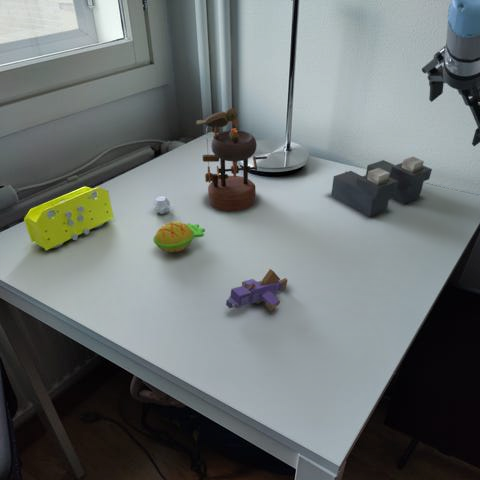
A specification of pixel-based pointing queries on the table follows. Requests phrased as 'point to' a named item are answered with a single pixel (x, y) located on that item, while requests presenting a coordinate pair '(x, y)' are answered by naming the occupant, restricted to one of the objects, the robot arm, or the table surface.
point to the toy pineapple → (177, 236)
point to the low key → (412, 164)
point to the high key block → (363, 192)
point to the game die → (161, 205)
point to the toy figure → (257, 292)
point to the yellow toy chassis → (68, 216)
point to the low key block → (403, 180)
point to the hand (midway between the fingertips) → (456, 118)
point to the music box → (232, 149)
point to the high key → (378, 176)
